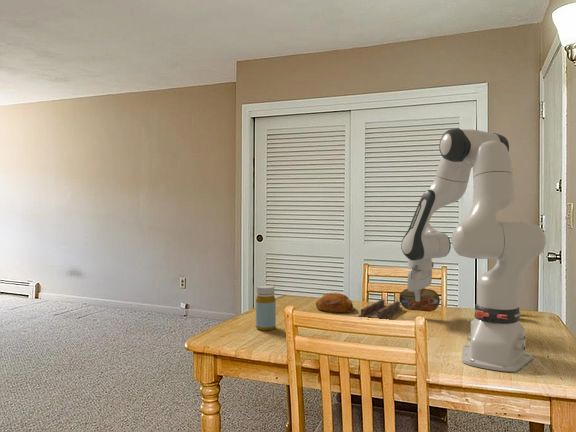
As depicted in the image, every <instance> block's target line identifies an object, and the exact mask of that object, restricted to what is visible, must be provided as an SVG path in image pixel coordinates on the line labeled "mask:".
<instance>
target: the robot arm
mask: <svg viewBox="0 0 576 432" xmlns="http://www.w3.org/2000/svg"><path fill="white" fill-rule="evenodd" d="M438 145H439V154H441V158H440V160H439V163H438V166H437V168H436V173H435V177H434V179H433V181H432V183H431V185H430V187H428V189H427V190H426V191H424V192H423V194H422V196H421V197H420V200H419V201H418V204H417V207H416V209H415V212H414V214H413V217H412V220H411V221H410V225H409V226H408V229H407V230H406V232H405V234H404V236H403V237H402V240H401V244H400V249H401V251H402V253H403V255H404V256H405V257H406V258H407V269H408V270H409V271H408V274H407V288H406V289H408V291H409V292H414V294H415V301H417V302H419V301H421V297H420V292H421V290H422V289H427V288H428V287H430V286H431V284H432V278H433V268H434V261H433V260H432V259H441V258H445V257H447V256H448V255H449V253H450V252H451V248H452V249H453V250H454V251H455V253H456V254H457V255H458V256H461V257H465V258H469V259H470V258H471V259H475V260H476V259H477V260H481V259H482V260H488V259H489V260H491V259H493V260H496V262H495V263H496V264H495V265H494V266H493V267H492V269H489V270H486V271H485V272H483V273H482V274H481V275H480V276H479V277H478V278H477V281H476V304H475V306H474V319H472V320H471V321H470V336H468V337H467V341H468V342H470V343H465V344H463V345H462V354H461V355H462V356H461V357H462V358H461V359H462V363H463V364H465V365H469V366H472V367H476V368H481V369H487V370H492V371H497V372H498V371H500V372H510V373H511V372H514V373H515V372H518V371H519V370H521V369H522V368H523V367H524V366H525V365H527V364H528V363H529V362H530V361H532V360H533V359H534V357H533V354H531V353H529V352H527V351H526V349H527V348H526V329H525V327H524V326H523V325H522V324H521V322H520V318H521V317H520V316H521V315H520V314H521V312H520V307H519V289H520V281H521V278H522V275H523V273H524V271H525V269H526V268H527V267H528V265H529V264H530V263H531V262H532V261H533V260H535V259H536V258H537V257H539V256H540V255H541V254H542V253H543V252H544V249H545V246H546V241H547V239H546V235H545V233H544V231H543V229H542V228H541V227H540V226H539V225H538V224H535V223H531V222H525V221H497V213H499V212H501V211H504V210H505V209H506V208H508V207H510V206H511V205H512V204H513V202H514V200H515V198H516V197H515V196H516V195H515V194H516V193H515V185H514V183H515V182H514V171H513V166H512V165H513V164H512V161H511V156H510V153H509V151H510V144H509V141H508V139H507V138H506V136H504V135H502V134H500V133H497V132H496V133H495V132H489V131H485V130H484V131H483V130H478V129H465V128H464V129H461V128H452V129H448V130H446V131H445V132H444V133H443V135H442V136H441V138H440V140H439V144H438ZM471 172H472V180H473V181H472V182H473V184H472V185H473V200H472V201H473V202H472V203H473V204H472V206H471V208H470V211H469V213H468V215H467V216H466V218H465V219H464V220H462V221H461V223H458V224H457V226H456V227H455V228H454V229H453V232H452V234H451V240H450V237H449V236H448V235H447V234H446V233H445V232H440V231H438V230H437V229H435V228H433V227H432V225H431V223H430V221H431V218H432V216H433V214H434V213H436V211H438V210H440V209H441V208H443V207H445V206H448V205H451V204H453V203H455V202H458V201H459V200H460V199H461V198H463V196H464V194H465V193H466V190H467V188H468V184H469V180H470V175H471Z"/></svg>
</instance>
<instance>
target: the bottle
mask: <svg viewBox="0 0 576 432" xmlns="http://www.w3.org/2000/svg"><path fill="white" fill-rule="evenodd" d="M276 307H277V306H276V298H275V286H274V285H271V284H263V285H262V284H261V285H257V286H256V297H255V328H256V329H257V330H259V331H265V332H266V331H273V330H274V329H275V328H276V324H277V323H276V321H277V319H276V315H277V314H276V311H277V310H276Z"/></svg>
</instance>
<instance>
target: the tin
mask: <svg viewBox="0 0 576 432" xmlns="http://www.w3.org/2000/svg"><path fill="white" fill-rule="evenodd" d="M420 297H421V301H419V302H417V301H415V294H414V292H409V291H408V289H407V288H405V289H404V290H402V291H401V293H400V294H399V301H400V306H402V308H404V309H405V310H409V311H418V312H419V311H420V312H428V313H429V312H434V311H436V310H437V308H438V307H439V305H440V303H441V299H440V295H439V294H438V293H437V291H435V290H433V289H431V288H425V289H422V290H421V292H420Z"/></svg>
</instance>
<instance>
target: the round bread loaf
mask: <svg viewBox="0 0 576 432" xmlns="http://www.w3.org/2000/svg"><path fill="white" fill-rule="evenodd" d="M315 306H316V309H317V310H318V311H323V312H331V313H349V312H351V311H352V310H353V308H354V304H353V302H352V301H351V299H349V297H348V296H347V295H345V294H343V293H339V292H338V293H337V292H329V293H325V294H324V295H322V296H321V297H319V298H318V299H317V300H316V301H315Z"/></svg>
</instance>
